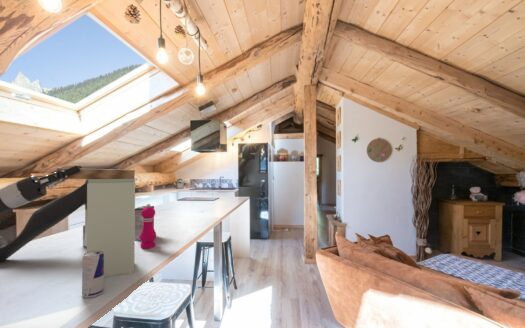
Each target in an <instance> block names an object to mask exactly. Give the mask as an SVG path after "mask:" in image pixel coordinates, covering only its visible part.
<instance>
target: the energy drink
mask: <svg viewBox="0 0 525 328" xmlns="http://www.w3.org/2000/svg"><path fill="white" fill-rule="evenodd" d="M81 264H82V265H81V266H82V267H81V273H82V274H81V275H82V276H81V278H82V279H81V296H82V297H83V298H85V299H92V298H96V297H98V296H100V295H102V294H103V292H104V289H105V288H104V282H105V281H104V278H105V277H104V254H103V251H91V252H87V251H86V252H84V253H83V255H82V263H81Z"/></svg>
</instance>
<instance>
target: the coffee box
mask: <svg viewBox="0 0 525 328" xmlns="http://www.w3.org/2000/svg"><path fill="white" fill-rule="evenodd" d="M150 207H152V208H154V209H155V205H150ZM144 208H146V205H142V206H139V207H135V241H140V234H141V232H142V229H143V221H142V220H143V219H142V218H143V216H142V215H141V212H142V210H143V209H144ZM153 217H154V218H155V215H154V216H153ZM153 227H154V228H155V220H154V221H153Z"/></svg>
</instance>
